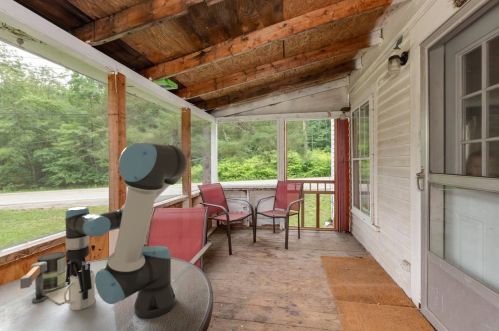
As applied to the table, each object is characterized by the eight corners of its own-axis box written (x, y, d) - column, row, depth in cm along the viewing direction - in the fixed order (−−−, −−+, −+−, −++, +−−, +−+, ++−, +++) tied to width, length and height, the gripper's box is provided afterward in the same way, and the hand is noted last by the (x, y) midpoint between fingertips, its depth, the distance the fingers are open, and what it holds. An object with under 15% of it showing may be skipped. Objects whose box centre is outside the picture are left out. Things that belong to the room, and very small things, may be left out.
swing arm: (33, 270, 100) (33, 262, 100) (48, 268, 102) (48, 260, 102) (15, 289, 85) (15, 279, 85) (33, 286, 87) (33, 276, 87)
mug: (71, 317, 87) (70, 284, 87) (55, 312, 90) (54, 281, 90) (100, 299, 99) (100, 271, 99) (85, 296, 101) (85, 268, 101)
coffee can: (43, 293, 104) (43, 261, 104) (33, 288, 109) (32, 257, 109) (70, 283, 113) (70, 253, 113) (59, 278, 118) (59, 250, 118)
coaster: (94, 290, 106) (93, 288, 106) (59, 305, 95) (59, 303, 95) (79, 283, 113) (79, 281, 113) (45, 296, 102) (45, 294, 102)
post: (48, 299, 100) (47, 271, 100) (34, 304, 96) (34, 275, 96) (43, 296, 102) (43, 269, 102) (30, 301, 98) (30, 273, 98)
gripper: (102, 248, 92) (102, 306, 93) (75, 240, 103) (76, 292, 103) (80, 254, 86) (81, 317, 86) (54, 245, 96) (55, 301, 97)
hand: (78, 303), depth 95 cm, fingers closed on mug, 8 cm apart
